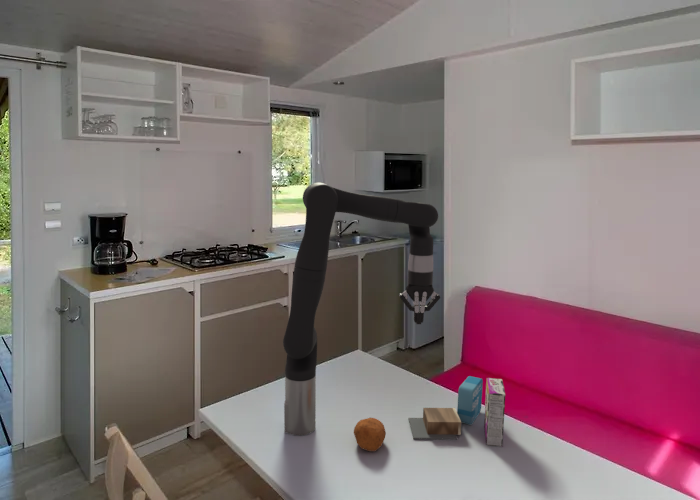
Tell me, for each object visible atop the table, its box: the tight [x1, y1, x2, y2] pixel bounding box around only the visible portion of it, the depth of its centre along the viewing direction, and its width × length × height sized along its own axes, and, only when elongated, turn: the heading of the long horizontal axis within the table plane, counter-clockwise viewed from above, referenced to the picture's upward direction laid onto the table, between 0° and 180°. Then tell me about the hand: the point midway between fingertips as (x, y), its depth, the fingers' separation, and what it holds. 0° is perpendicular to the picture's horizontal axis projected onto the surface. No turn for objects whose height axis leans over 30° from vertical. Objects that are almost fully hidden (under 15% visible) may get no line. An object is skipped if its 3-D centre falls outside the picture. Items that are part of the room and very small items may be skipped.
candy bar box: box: [483, 377, 506, 448], centre depth 152 cm, size 11×5×16 cm, turn 168°
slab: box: [422, 407, 462, 436], centre depth 157 cm, size 4×9×10 cm
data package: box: [456, 375, 484, 426], centre depth 164 cm, size 12×4×12 cm, turn 150°
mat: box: [408, 417, 458, 441], centre depth 157 cm, size 13×12×1 cm
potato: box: [353, 417, 387, 452], centre depth 147 cm, size 9×11×8 cm
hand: (418, 323), depth 157 cm, fingers closed
